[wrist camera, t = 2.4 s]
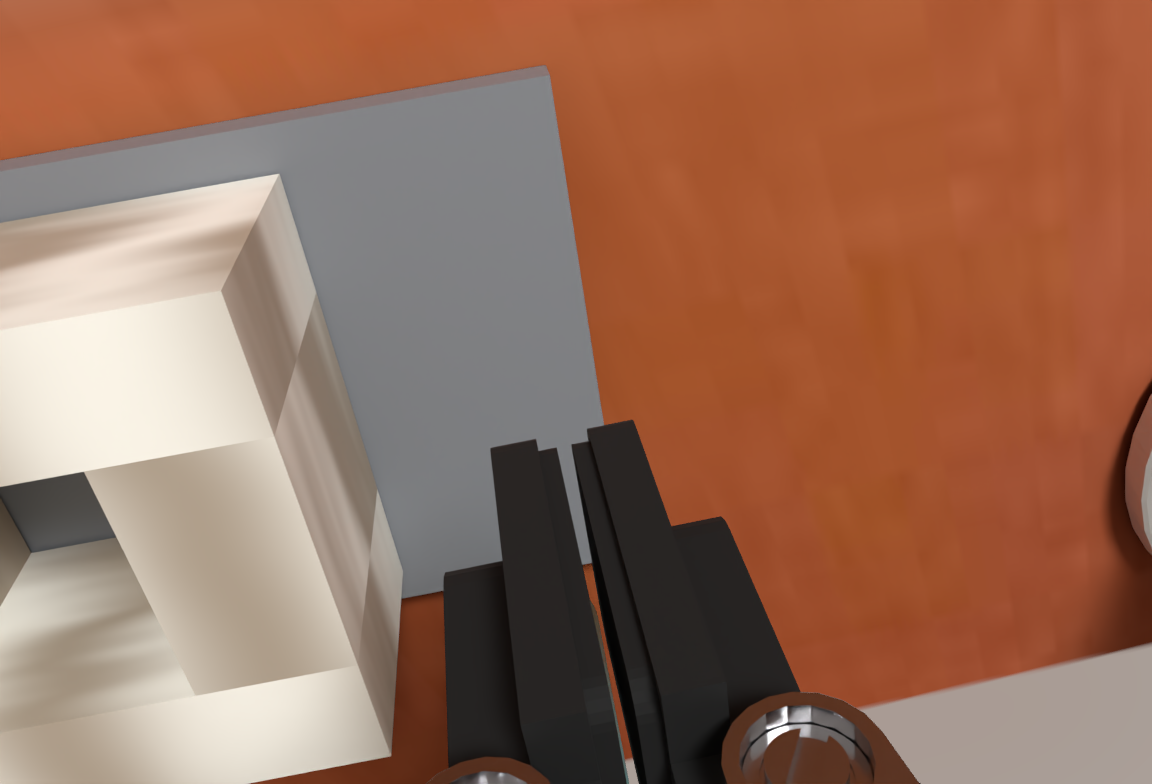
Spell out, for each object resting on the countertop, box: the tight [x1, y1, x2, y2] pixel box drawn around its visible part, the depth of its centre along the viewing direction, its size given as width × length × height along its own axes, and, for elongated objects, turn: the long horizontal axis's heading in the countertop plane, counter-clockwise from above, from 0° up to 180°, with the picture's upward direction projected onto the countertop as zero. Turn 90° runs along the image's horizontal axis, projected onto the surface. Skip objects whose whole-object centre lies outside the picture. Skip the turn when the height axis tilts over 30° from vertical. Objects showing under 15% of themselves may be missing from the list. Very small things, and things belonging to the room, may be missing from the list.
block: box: [0, 174, 403, 784], centre depth 20 cm, size 12×11×6 cm
